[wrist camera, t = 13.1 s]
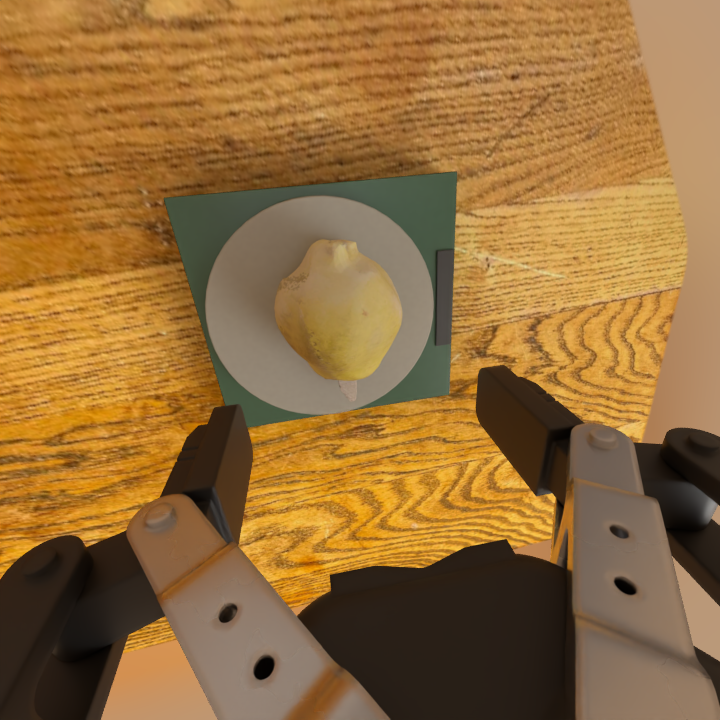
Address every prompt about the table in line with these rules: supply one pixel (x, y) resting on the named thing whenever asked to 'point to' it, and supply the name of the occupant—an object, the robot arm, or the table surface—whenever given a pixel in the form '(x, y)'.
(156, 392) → the table surface
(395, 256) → the scale
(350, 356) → the fruit
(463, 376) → the table surface
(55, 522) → the table surface
